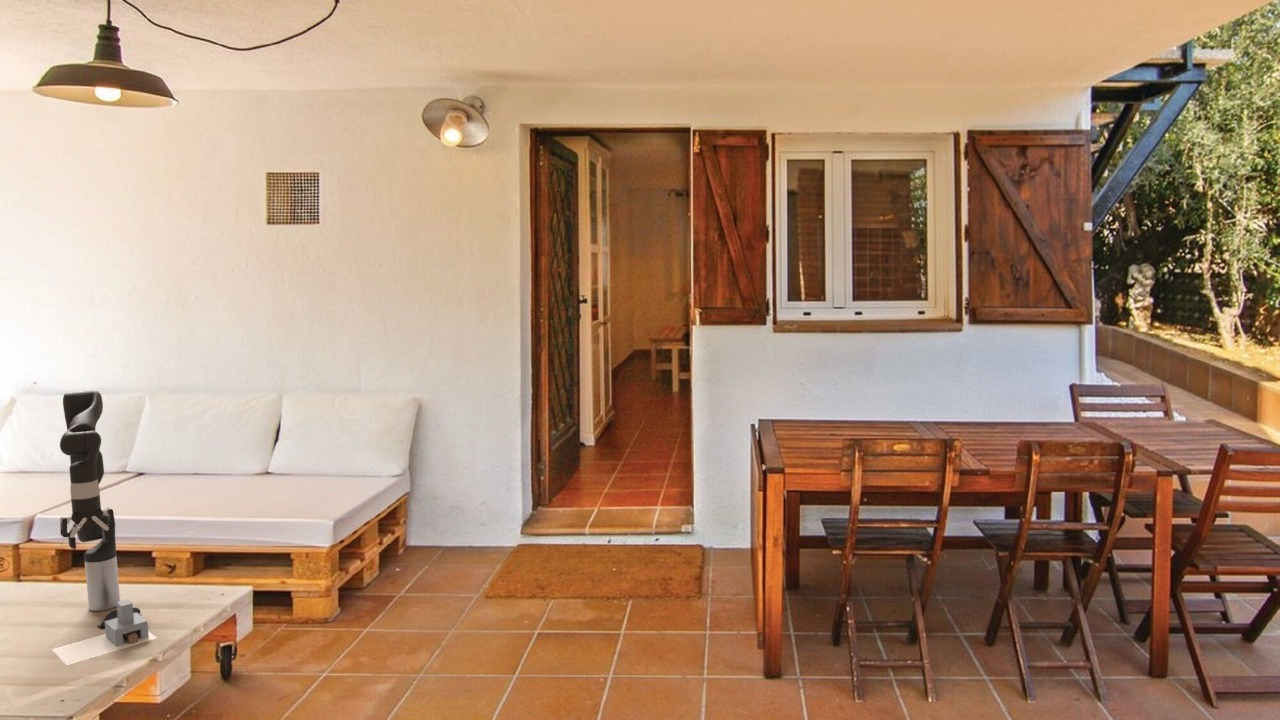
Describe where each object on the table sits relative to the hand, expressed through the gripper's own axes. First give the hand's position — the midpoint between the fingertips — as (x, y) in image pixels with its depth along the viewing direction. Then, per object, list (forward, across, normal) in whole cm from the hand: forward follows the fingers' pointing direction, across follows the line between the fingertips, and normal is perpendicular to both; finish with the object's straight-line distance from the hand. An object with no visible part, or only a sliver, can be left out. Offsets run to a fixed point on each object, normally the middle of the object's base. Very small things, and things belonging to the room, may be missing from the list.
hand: (89, 545), depth 263 cm
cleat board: (+30, +1, +12) cm, 32 cm away
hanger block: (+28, -5, +12) cm, 31 cm away
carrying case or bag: (+30, -8, -6) cm, 32 cm away
